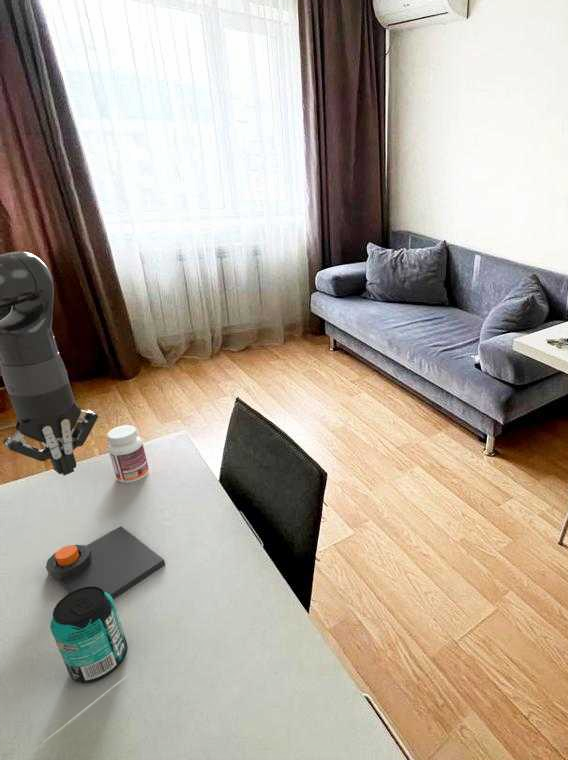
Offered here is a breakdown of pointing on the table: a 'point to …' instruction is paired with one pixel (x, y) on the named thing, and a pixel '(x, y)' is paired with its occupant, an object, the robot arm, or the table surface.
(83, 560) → the scale
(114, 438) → the pill bottle
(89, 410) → the robot arm
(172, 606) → the table surface
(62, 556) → the button
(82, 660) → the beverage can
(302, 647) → the table surface
